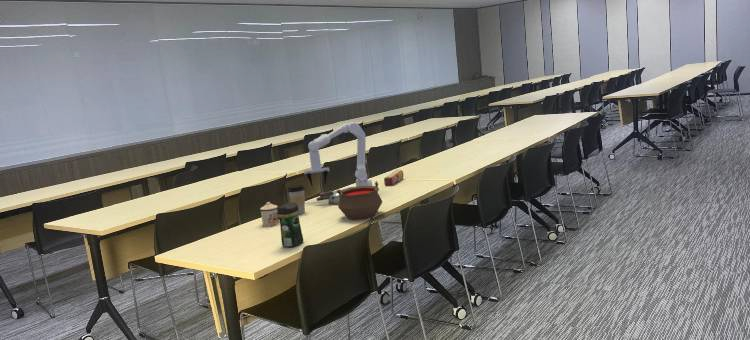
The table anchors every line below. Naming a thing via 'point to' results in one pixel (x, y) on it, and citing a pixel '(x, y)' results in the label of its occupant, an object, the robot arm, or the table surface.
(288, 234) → the coffee jar
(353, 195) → the brown cauldron
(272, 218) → the teacup with lid
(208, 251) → the table surface
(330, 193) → the lid
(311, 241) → the table surface
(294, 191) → the coffee cup
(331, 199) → the pot
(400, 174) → the snack package
